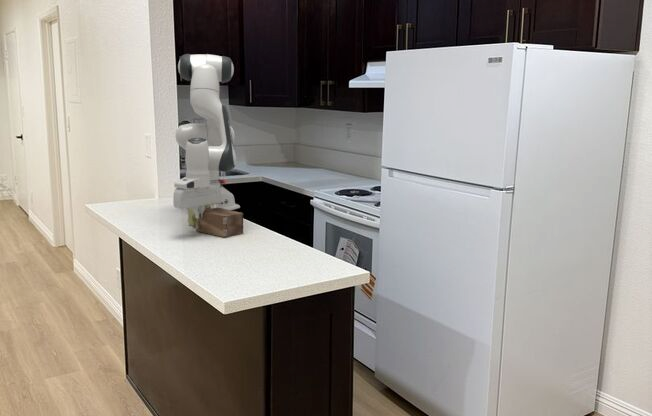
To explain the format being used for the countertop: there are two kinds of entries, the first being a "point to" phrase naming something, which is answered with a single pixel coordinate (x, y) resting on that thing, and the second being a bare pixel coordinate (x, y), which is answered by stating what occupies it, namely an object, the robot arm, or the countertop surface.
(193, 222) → the mug
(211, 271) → the countertop surface
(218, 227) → the door
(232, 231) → the cabinet
